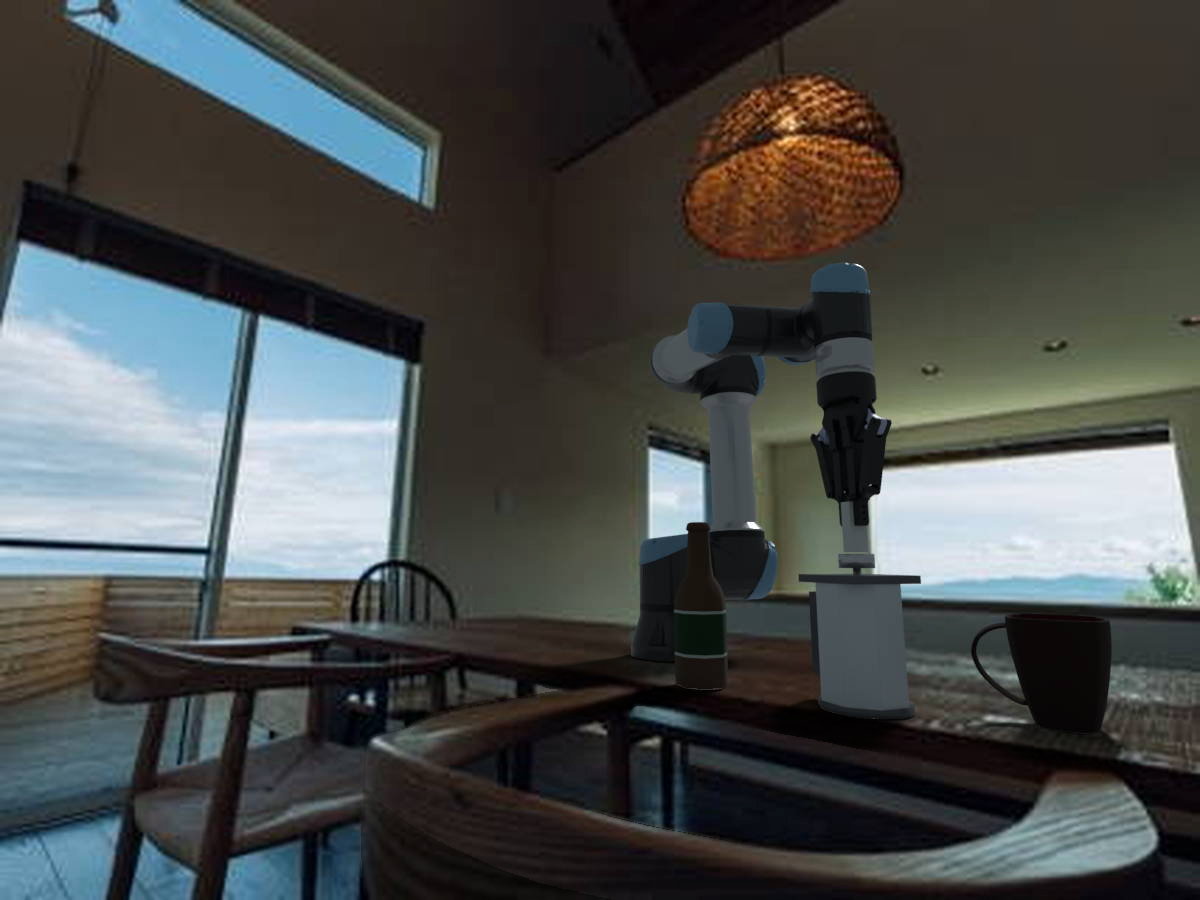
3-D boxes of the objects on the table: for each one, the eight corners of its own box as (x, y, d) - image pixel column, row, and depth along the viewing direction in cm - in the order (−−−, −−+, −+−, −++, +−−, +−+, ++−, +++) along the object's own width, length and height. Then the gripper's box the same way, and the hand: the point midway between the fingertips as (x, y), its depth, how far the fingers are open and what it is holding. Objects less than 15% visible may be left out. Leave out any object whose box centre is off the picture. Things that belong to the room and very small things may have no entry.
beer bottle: (696, 679, 101) (693, 524, 105) (739, 686, 95) (734, 522, 99) (664, 686, 95) (662, 522, 99) (707, 693, 90) (703, 520, 94)
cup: (1124, 744, 66) (1109, 623, 68) (969, 723, 74) (960, 615, 76) (1123, 725, 74) (1110, 616, 76) (983, 707, 82) (974, 610, 84)
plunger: (834, 620, 84) (830, 553, 86) (861, 619, 86) (857, 554, 87) (858, 624, 80) (854, 553, 82) (886, 623, 82) (882, 553, 83)
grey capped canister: (785, 698, 87) (780, 573, 90) (852, 692, 91) (845, 573, 94) (862, 723, 74) (853, 576, 77) (936, 715, 78) (925, 575, 81)
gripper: (792, 385, 93) (800, 552, 89) (857, 360, 81) (870, 551, 77) (834, 390, 96) (844, 552, 92) (903, 366, 84) (918, 551, 80)
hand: (856, 551), depth 84 cm, fingers closed
